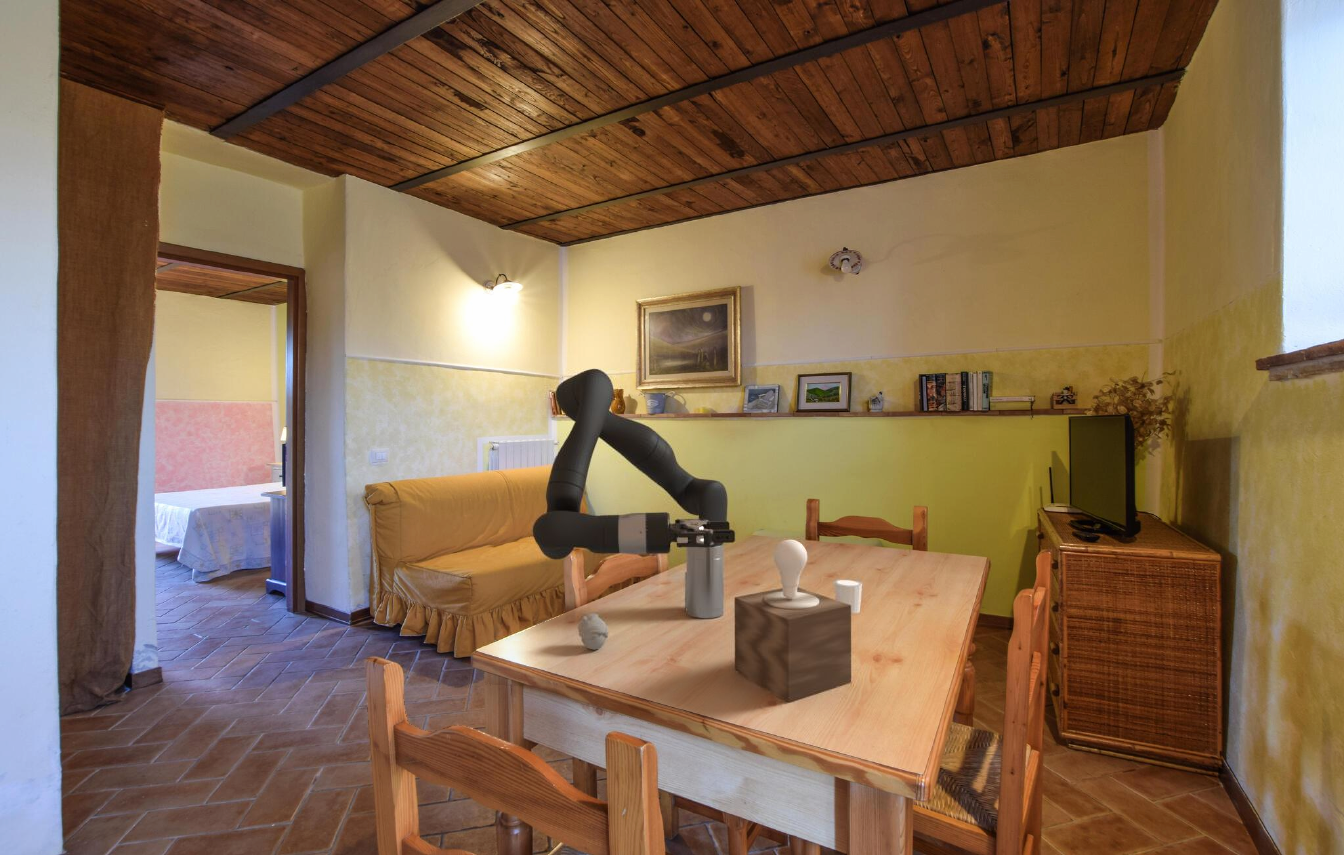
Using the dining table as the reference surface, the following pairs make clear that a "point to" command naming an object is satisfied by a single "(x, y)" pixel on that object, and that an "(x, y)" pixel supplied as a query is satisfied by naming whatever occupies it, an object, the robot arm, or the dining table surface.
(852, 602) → the shot glass
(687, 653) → the dining table surface
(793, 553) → the lightbulb
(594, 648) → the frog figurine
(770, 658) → the lamp housing
